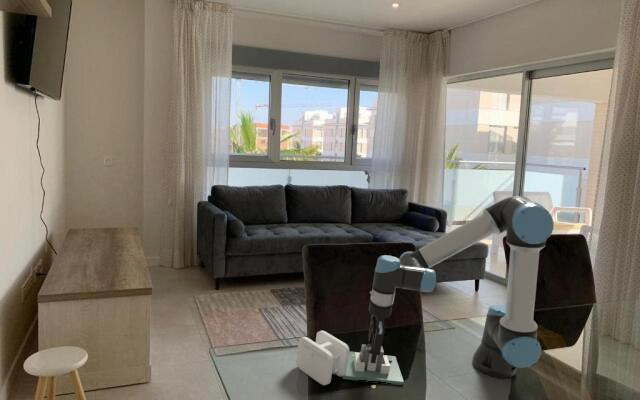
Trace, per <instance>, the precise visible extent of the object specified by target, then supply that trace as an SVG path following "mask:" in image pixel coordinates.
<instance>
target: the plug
mask: <svg viewBox="0 0 640 400" xmlns="http://www.w3.org/2000/svg"><path fill="white" fill-rule="evenodd" d="M371 347H372V345H368V344H363V343H362V344H361V348H360V351H359V353H360V361H361V362H365V367H364V370H367V366H368V360H369V354H370V353H369V351H371ZM384 354H385V351H384V348H383V345H382V346H381V351H380V355H378V358H377V364H376V369H375V371H380V370H381V364H382V360H383V355H384Z"/></svg>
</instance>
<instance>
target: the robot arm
mask: <svg viewBox="0 0 640 400" xmlns="http://www.w3.org/2000/svg"><path fill="white" fill-rule="evenodd" d="M553 230H554V219H553V217H552V214H551V212H549V210H547V209H546V208H545V206H543V205H541V204H540V203H538V202H534V201H532V200H530V199H529V198H527V197H524V196H520V195H515V196H514V195H513V196H510V197H507V198H504V199H502V200H499V201H498V202H496V203H494V204H492V205H490V206H489V207H487V208H484V209H483V212H482V214H480V215H479V216H476V217H475V218H473V219H471V220H470V221H467V222H466V223H463V224H462V225H460V226H458V227H456V228H455V229H453V230H451V231H449V232H447V233H445V234H444V235H443V236H440V237H439V238H436V239H434V240H433V241H432V242H429V243H428V244H426V245H424V246H422V247H420V248H418V249H417V250H415V251H405V252H403V253H402V254H401V255H400V256H399V258H398V257H396V256H392V255H387V254H384V255H383V254H382V255H380V256H379V257H378V258H377V259H376V260H377V261H376V266H375V268H374V276H373V283H372V290H370V291H369V294H370V300H369V306H368V312H369V313H370V314H371V319H370V323H369V329H368V330H369V331H368V336H367V340H368V342H367V343H368V344H367V345H372V347H371V351H369V353H370V354H369V360H368V366H367V370H369V371H375V369H376V364H377V358H378V355H380V351H381V346H382V347H383V345H382V344H383V339H384V335H385V332H386V328H385V326H386V320H385V319H386V318H389V317H391V316H392V311H393V304H394V301H395V297H396V289H404V290H410V291H417V292H420V293H422V292H423V293H431V292H433V291H434V290H435V288H436V283H437V275H436V274H437V273H436V271H435V270H434V269H431V268H432V267H434V266H435V265H438V264H439V263H442V262H443V261H445V260H447V259H449V258H451V257H452V256H455V255H457V254H458V253H460V252H463V251H464V250H465V249H468V248H469V247H471V246H474V245H475V244H477V243H479V242H481V241H483V240H484V239H487V238H488V237H490V236H491V235H493V234H495V235H496V234H497V235H500V234H502V233H504V232H506V234H505V235H506V236H505V242H506V244H507V245H508V246H509V248H510V252H509V263H508V275H507V276H508V277H507V287H506V288H507V289H506V299H505V305H501V304H500V305H499V304H494V305H491V306H489V307H488V311H487V312H486V317H485V322H484V323H485V324H484V328H483V333H482V337H481V342H480V344H479V345H478V347H477V348H476V350H475V352H474V353H473V356H472V359H471V361H472V362H471V363H472V365H473V366H474V367H475V368H476V369H477V370H478V371H480V372H482V374H483V373H484V374H486V375H487V376H490V377H494V378H497V377H499V378H498V379H509V378H508V377H511V378H513V377H514V376H515V375H516V372H517V368H529V367H530V366H532V365H534V364H535V363H537V361H539V359H540V357H541V356H542V347H541V345H540V342H539V341H538V338H537V337H538V324H537V323H536V321H535V320H534V315H535V314H534V313H535V305H536V304H535V302H536V295H537V294H536V292H537V284H538V283H537V281H538V271H539V262H540V261H539V259H540V252H541V250H542V249H544V248H545V247H546V245H547V243H546V242H547V239H548V238H550V237H551V235H552V234H553V232H554V231H553ZM514 374H515V375H514ZM513 375H514V376H513ZM512 376H513V377H512Z"/></svg>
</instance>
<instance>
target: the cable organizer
mask: <svg viewBox="0 0 640 400" xmlns="http://www.w3.org/2000/svg"><path fill="white" fill-rule="evenodd" d="M296 351H297V352H296V358H295V365H296V366H297V369H299V370H300V371H302V372H303V373H304V374H306V375H308V377H310V378H311V379H313V380H314V381H316V382H318V384H320V385H322V386H326V385H329V384H330V383H331V381H332V375H336V376H338V377H342V376H343V375H345V374H346V371H347V364H348V358H349V351H350V346H349V345H348V344H347V343H345V342H344V341H342V340H341V339H338V338H337V337H335V336H334V335H332V334H331V333H329V332H327V331H325V330H320V331H317V332H316V335H315V341H313V340H312V339H310V337H307V336H303V337H300V338H299V339H298V343H297V350H296ZM350 352H351V351H350Z"/></svg>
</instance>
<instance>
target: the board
mask: <svg viewBox="0 0 640 400" xmlns="http://www.w3.org/2000/svg"><path fill="white" fill-rule="evenodd" d="M364 367H365V362H361V361H360V351H359V352H357V351H349V358H348V364H347V371H346V374H345V375H343V376H341V377H342V378H341V379H342V380H350V381H351V380H352V381H358V380H367V381H366V382H368V381H381V382H386V383H385V384H387V383H391V384H390V385H399V386H404V383H405V380H404V378H403V376H402V373H401V370H400V366H399V363H398V361H397V357H396V356H395V355H388V354H387V355H386V354H385V355H383V360H382V364H381V370H380V371H369V370H364Z"/></svg>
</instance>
